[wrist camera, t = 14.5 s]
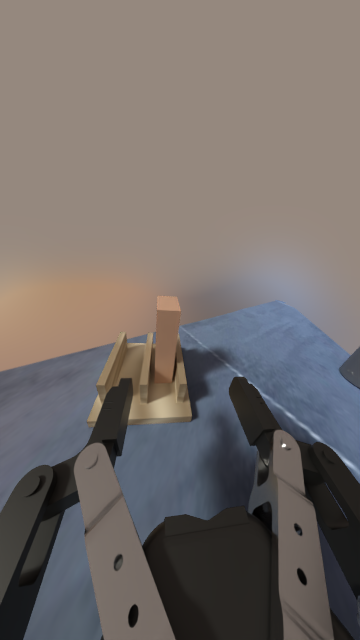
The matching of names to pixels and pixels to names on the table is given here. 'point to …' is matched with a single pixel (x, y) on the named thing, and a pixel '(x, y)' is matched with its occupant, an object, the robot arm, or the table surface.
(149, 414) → the wooden slotted stand
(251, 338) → the table surface
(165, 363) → the clay slat
